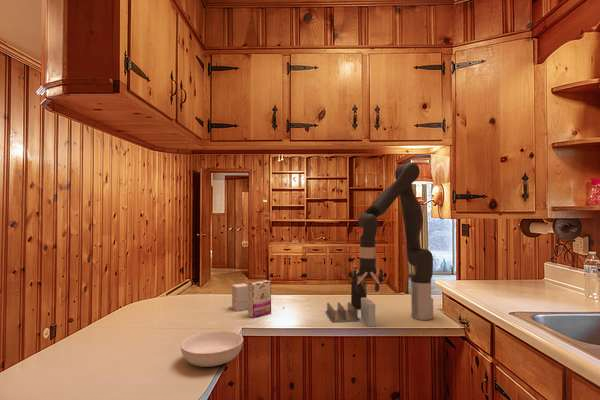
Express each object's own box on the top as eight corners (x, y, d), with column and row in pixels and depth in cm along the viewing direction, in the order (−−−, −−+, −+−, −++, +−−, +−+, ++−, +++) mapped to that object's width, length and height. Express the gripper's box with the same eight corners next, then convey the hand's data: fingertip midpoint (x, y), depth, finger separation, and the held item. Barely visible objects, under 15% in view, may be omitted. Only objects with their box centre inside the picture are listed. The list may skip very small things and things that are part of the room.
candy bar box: (265, 311, 177) (265, 279, 177) (271, 313, 173) (271, 281, 173) (247, 316, 169) (247, 282, 170) (253, 318, 165) (253, 284, 166)
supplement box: (244, 306, 187) (244, 282, 187) (249, 309, 180) (249, 285, 181) (231, 308, 183) (231, 284, 183) (236, 311, 177) (236, 287, 177)
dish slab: (367, 318, 165) (366, 297, 165) (375, 326, 153) (375, 304, 153) (361, 318, 165) (360, 297, 165) (368, 327, 153) (368, 304, 153)
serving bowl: (189, 349, 128) (189, 330, 129) (245, 347, 130) (245, 329, 130) (172, 376, 108) (172, 353, 108) (239, 373, 109) (239, 351, 109)
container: (363, 310, 178) (363, 271, 179) (347, 308, 183) (347, 270, 183) (369, 306, 185) (369, 269, 186) (354, 304, 190) (353, 268, 191)
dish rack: (350, 311, 176) (350, 301, 176) (359, 321, 160) (359, 310, 161) (325, 312, 175) (325, 302, 175) (332, 322, 159) (332, 311, 159)
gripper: (379, 255, 164) (379, 289, 164) (350, 255, 163) (350, 290, 162) (385, 257, 157) (385, 293, 156) (354, 257, 155) (354, 293, 155)
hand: (367, 291), depth 159 cm, fingers open, 8 cm apart
